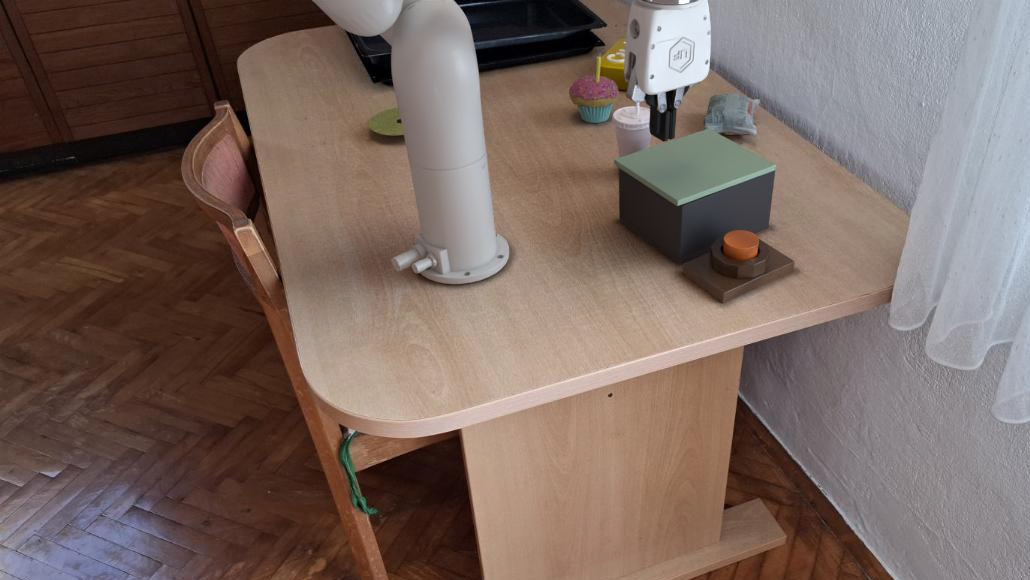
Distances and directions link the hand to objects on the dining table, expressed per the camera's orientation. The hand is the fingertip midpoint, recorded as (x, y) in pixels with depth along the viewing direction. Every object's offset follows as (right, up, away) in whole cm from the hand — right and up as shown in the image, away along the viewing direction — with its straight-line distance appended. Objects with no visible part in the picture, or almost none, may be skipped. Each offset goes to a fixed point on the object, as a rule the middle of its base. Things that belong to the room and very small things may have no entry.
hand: (662, 136), depth 108 cm
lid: (+5, -3, +6) cm, 8 cm away
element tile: (+1, +24, +54) cm, 59 cm away
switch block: (+10, -17, +2) cm, 20 cm away
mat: (-41, +10, +37) cm, 57 cm away
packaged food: (+15, +10, +36) cm, 40 cm away
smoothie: (-3, 0, +24) cm, 24 cm away
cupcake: (-9, +12, +40) cm, 43 cm away
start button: (+10, -15, 0) cm, 18 cm away
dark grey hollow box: (+5, -10, +12) cm, 16 cm away
